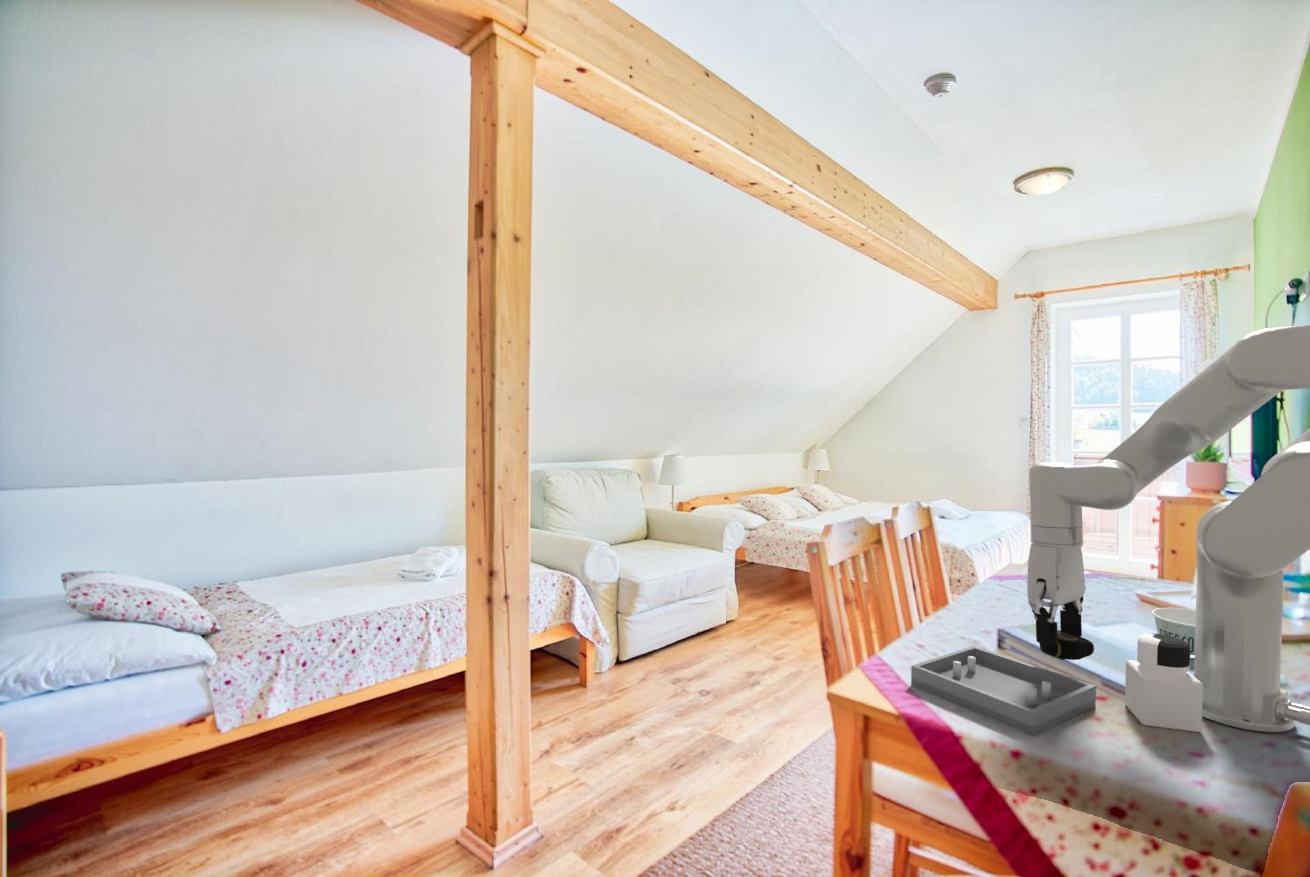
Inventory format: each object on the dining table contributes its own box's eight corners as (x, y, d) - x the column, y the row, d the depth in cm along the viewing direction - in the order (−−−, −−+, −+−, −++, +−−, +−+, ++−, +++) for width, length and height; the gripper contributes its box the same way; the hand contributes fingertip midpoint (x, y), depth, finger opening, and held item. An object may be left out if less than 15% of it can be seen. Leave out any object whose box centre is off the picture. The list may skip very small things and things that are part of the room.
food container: (1243, 654, 120) (1244, 619, 119) (1221, 669, 113) (1222, 632, 113) (1164, 636, 130) (1165, 603, 129) (1140, 648, 123) (1141, 614, 123)
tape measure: (1096, 661, 107) (1096, 638, 107) (1065, 666, 105) (1065, 643, 105) (1059, 648, 114) (1059, 627, 114) (1029, 653, 112) (1029, 631, 112)
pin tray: (1095, 706, 99) (1095, 682, 99) (1034, 735, 90) (1034, 709, 90) (972, 663, 116) (973, 643, 116) (911, 684, 107) (911, 662, 107)
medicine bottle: (1180, 711, 97) (1182, 632, 97) (1202, 733, 90) (1205, 649, 90) (1124, 704, 99) (1125, 627, 99) (1142, 725, 93) (1143, 643, 92)
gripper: (1060, 527, 118) (1062, 624, 118) (1005, 538, 109) (1008, 644, 109) (1106, 532, 111) (1108, 635, 111) (1051, 544, 102) (1054, 656, 102)
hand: (1059, 638), depth 110 cm, fingers closed on tape measure, 7 cm apart
